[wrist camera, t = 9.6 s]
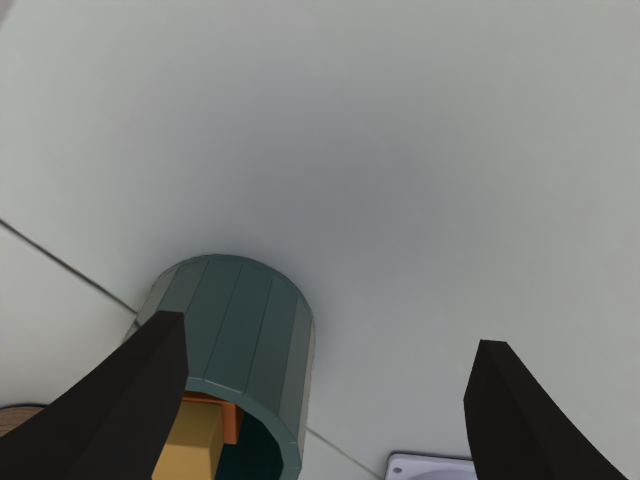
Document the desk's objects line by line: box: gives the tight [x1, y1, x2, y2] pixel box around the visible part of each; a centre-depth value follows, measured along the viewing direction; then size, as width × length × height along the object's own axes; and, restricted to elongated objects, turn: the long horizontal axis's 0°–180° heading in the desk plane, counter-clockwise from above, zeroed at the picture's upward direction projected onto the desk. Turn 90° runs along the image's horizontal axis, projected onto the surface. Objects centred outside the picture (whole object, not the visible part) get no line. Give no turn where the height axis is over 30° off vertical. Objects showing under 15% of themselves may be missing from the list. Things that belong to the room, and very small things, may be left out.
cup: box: [117, 255, 315, 480], centre depth 23 cm, size 8×8×8 cm
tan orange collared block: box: [152, 390, 245, 480], centre depth 22 cm, size 8×3×2 cm
